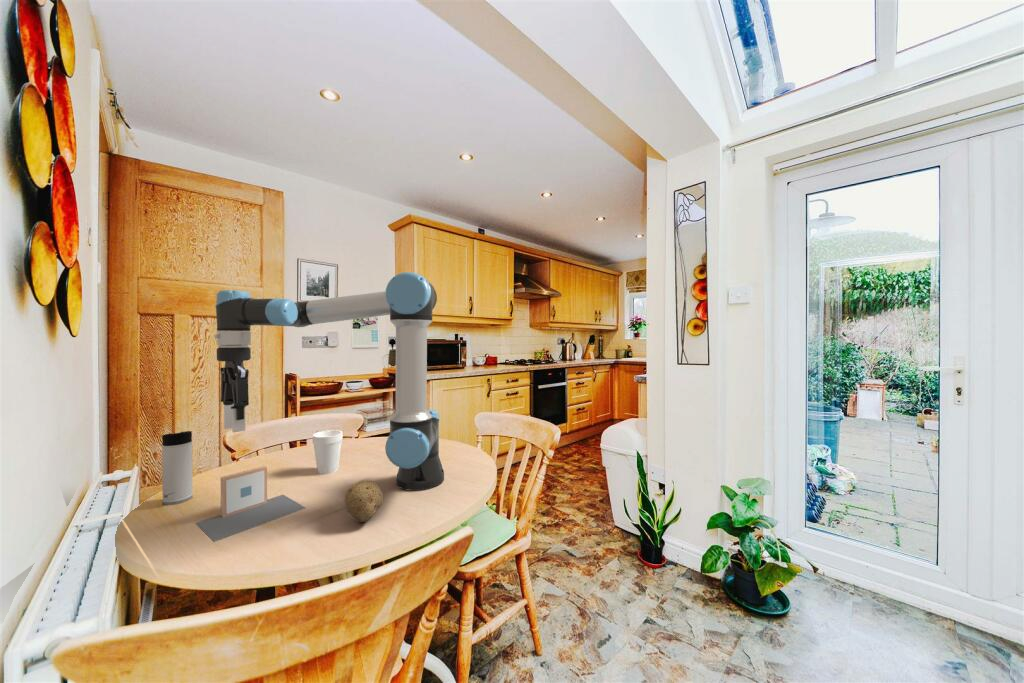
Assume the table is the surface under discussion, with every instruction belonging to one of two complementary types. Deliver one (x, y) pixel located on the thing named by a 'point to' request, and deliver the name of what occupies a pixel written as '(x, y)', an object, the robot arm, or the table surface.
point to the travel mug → (177, 468)
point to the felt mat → (248, 518)
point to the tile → (243, 491)
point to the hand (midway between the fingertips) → (234, 429)
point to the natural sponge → (363, 500)
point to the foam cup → (327, 450)
